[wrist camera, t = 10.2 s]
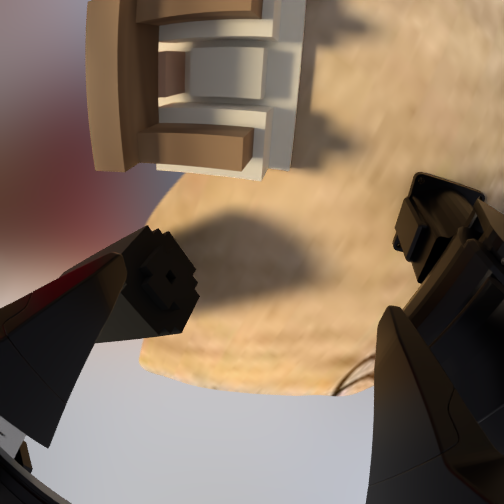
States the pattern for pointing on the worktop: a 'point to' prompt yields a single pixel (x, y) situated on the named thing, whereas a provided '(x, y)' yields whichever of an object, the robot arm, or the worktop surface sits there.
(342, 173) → the worktop surface
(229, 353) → the worktop surface
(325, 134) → the worktop surface
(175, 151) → the wooden c-shaped bracket
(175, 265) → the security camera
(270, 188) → the worktop surface
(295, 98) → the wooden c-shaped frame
